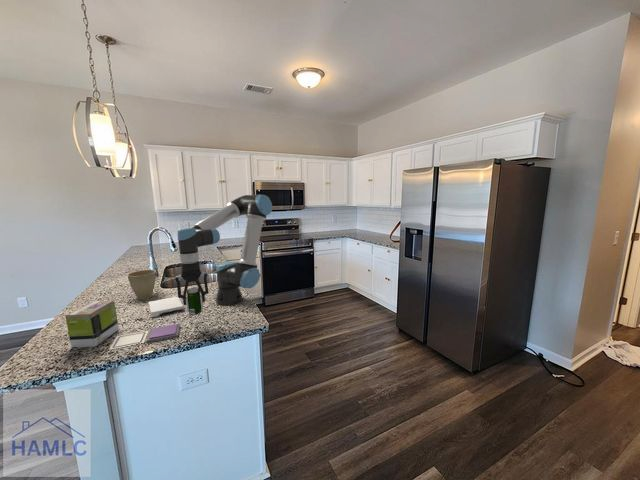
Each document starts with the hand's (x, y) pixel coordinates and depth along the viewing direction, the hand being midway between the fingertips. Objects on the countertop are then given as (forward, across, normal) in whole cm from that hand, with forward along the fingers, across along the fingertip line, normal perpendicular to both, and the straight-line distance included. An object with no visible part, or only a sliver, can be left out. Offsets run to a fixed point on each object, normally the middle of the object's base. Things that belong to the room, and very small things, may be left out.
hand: (195, 309), depth 126 cm
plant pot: (+9, -31, +58) cm, 67 cm away
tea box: (+8, -41, +8) cm, 42 cm away
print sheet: (+8, -27, 0) cm, 28 cm away
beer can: (+2, 0, 0) cm, 2 cm away
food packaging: (+10, -16, +33) cm, 38 cm away
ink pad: (+9, -14, 0) cm, 16 cm away
